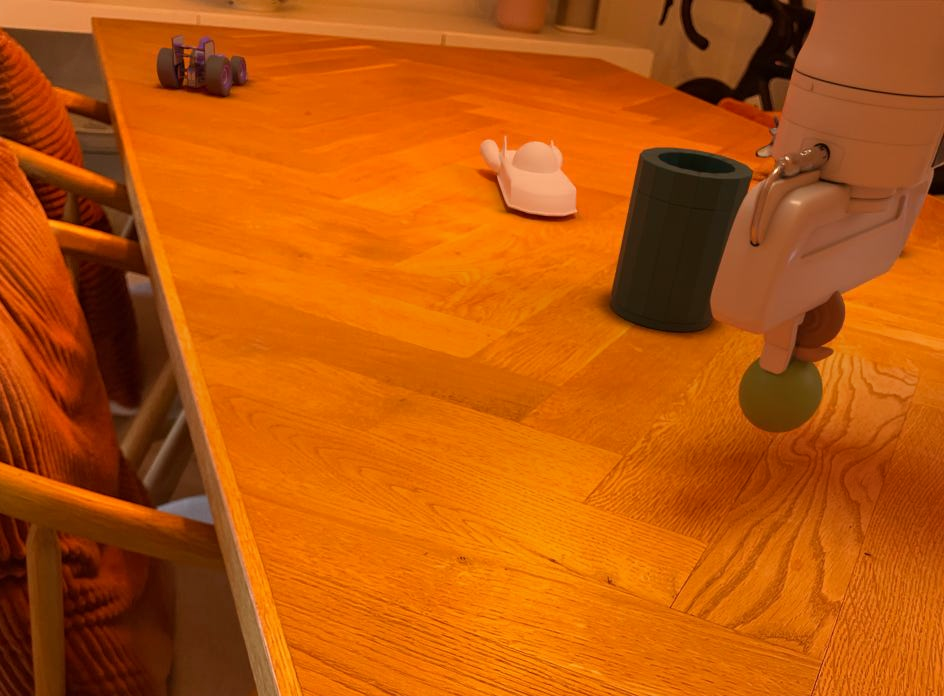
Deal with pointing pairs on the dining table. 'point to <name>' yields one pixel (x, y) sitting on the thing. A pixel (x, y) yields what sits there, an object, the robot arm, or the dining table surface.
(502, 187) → the white domed toy
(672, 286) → the jar
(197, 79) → the toy race car
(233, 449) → the dining table surface
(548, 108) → the dining table surface
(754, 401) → the snail figurine
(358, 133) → the dining table surface
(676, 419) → the dining table surface
